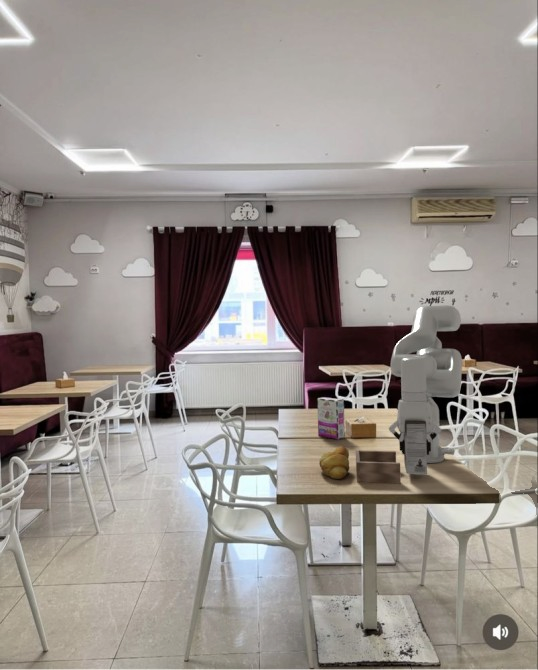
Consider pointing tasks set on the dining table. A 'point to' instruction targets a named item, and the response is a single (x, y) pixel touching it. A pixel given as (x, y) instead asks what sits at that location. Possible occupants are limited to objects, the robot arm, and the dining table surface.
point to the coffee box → (415, 447)
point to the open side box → (377, 466)
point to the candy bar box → (331, 418)
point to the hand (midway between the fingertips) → (415, 452)
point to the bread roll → (335, 463)
